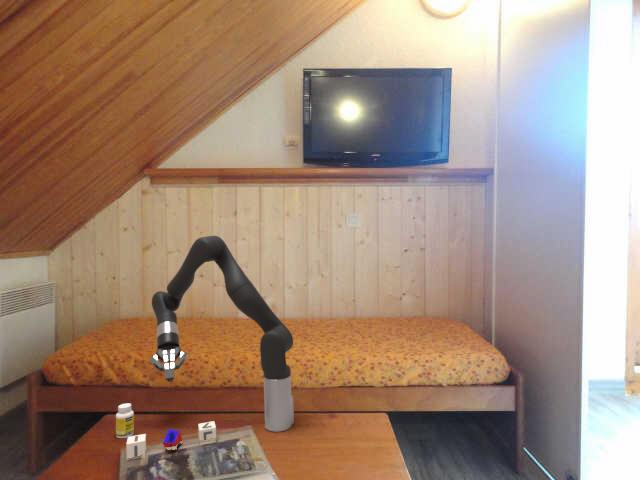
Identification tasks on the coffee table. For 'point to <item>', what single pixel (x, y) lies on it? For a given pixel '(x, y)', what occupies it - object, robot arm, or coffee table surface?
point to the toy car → (172, 438)
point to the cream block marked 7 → (207, 430)
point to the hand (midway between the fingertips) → (170, 380)
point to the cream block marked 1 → (136, 445)
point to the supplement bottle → (124, 421)
